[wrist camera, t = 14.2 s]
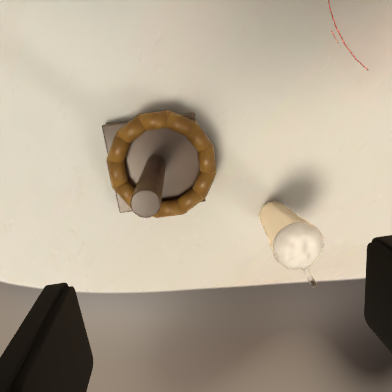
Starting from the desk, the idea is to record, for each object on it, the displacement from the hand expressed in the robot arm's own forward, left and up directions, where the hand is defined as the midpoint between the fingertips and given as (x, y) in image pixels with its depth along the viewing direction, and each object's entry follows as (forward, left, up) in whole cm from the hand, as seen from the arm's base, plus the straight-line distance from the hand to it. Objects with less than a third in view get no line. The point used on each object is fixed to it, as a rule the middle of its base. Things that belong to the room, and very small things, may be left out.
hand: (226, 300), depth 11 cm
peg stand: (-4, 0, -26) cm, 26 cm away
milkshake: (+8, -8, -26) cm, 28 cm away
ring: (-3, 0, -23) cm, 23 cm away
